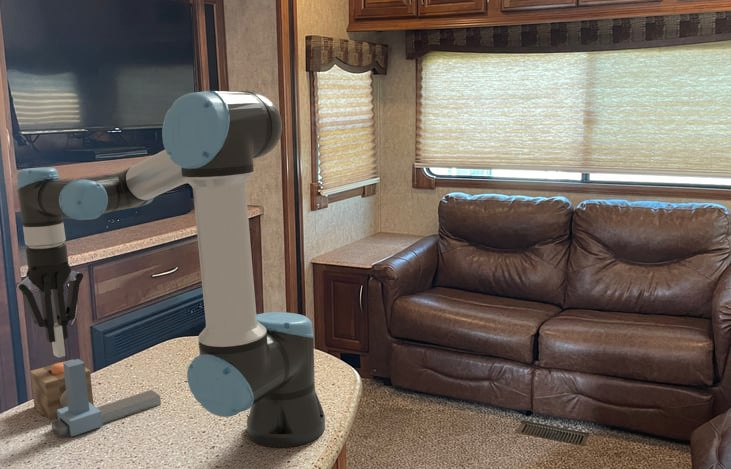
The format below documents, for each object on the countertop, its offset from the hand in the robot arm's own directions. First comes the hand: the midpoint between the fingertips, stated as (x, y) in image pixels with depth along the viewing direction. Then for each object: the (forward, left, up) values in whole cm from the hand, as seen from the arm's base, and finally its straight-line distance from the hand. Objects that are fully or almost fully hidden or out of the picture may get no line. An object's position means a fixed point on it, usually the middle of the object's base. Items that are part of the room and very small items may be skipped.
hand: (59, 355), depth 145 cm
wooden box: (0, 0, -12) cm, 12 cm away
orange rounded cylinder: (0, 0, -6) cm, 6 cm away
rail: (-12, -4, -12) cm, 17 cm away
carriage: (-12, +1, -12) cm, 16 cm away
